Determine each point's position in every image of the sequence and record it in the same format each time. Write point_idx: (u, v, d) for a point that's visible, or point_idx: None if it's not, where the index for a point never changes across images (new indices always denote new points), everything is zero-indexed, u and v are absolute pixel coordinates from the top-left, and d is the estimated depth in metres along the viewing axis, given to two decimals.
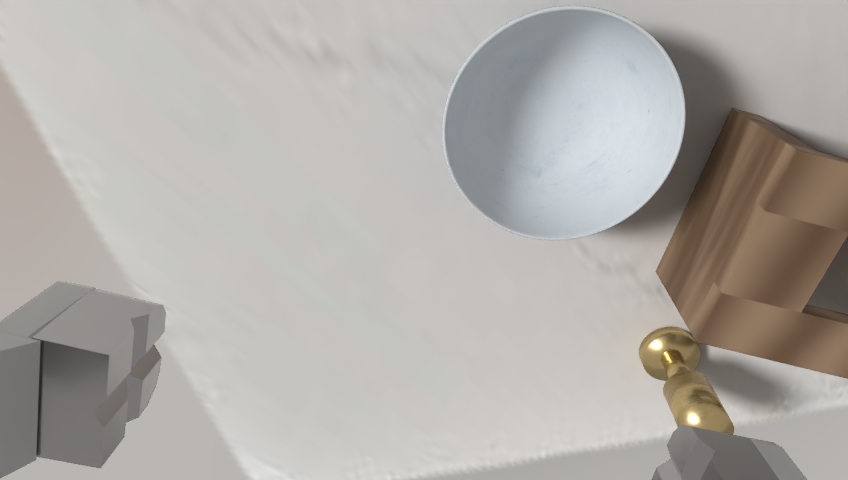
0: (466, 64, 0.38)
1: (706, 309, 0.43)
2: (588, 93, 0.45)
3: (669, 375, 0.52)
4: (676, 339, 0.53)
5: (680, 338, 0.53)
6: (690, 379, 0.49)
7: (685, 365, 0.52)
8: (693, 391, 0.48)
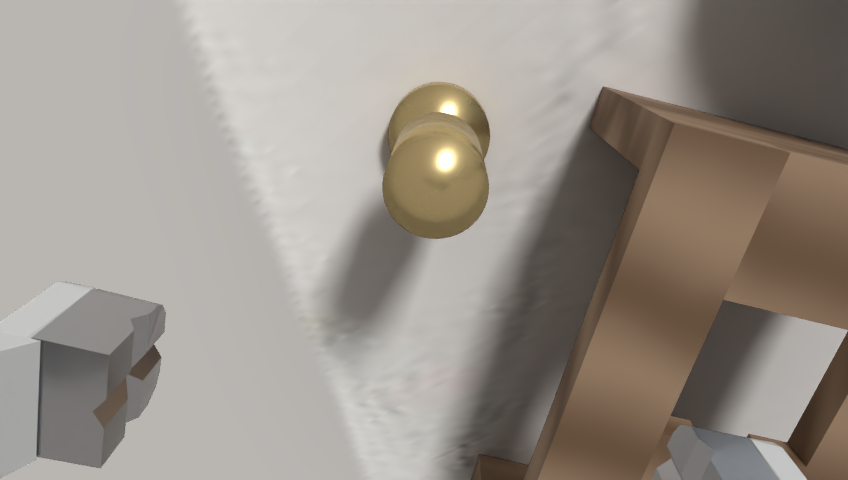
0: None
1: (729, 135, 0.21)
2: None
3: None
4: (480, 139, 0.30)
5: (481, 145, 0.30)
6: None
7: None
8: (482, 156, 0.23)
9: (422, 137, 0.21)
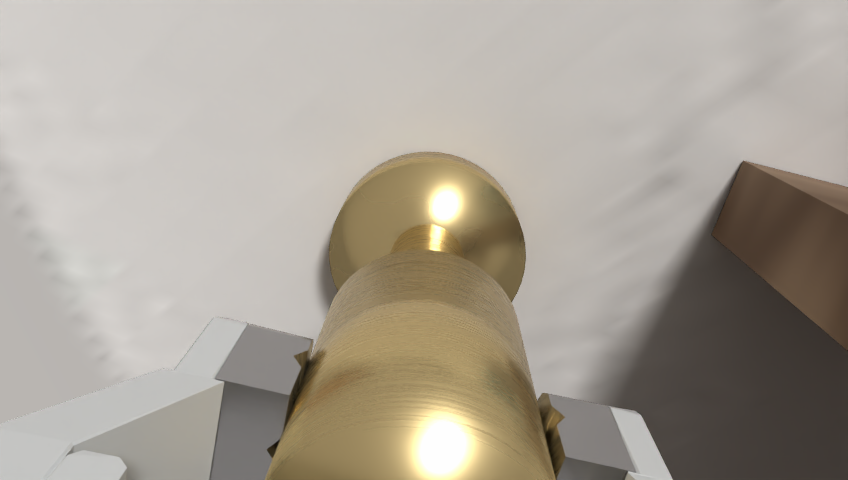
0: None
1: None
2: None
3: None
4: (507, 263, 0.15)
5: (508, 275, 0.16)
6: None
7: None
8: (534, 394, 0.09)
9: (363, 429, 0.06)
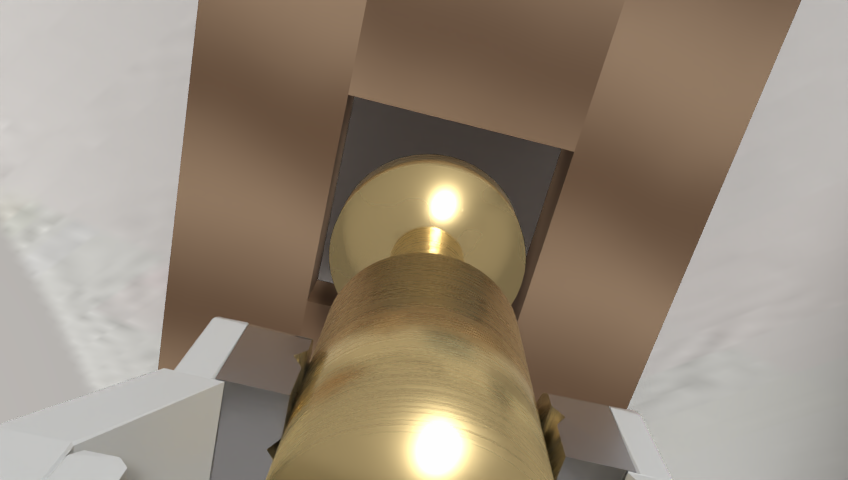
0: None
1: None
2: None
3: None
4: (507, 265, 0.15)
5: (509, 277, 0.16)
6: None
7: None
8: (533, 397, 0.09)
9: (362, 434, 0.06)
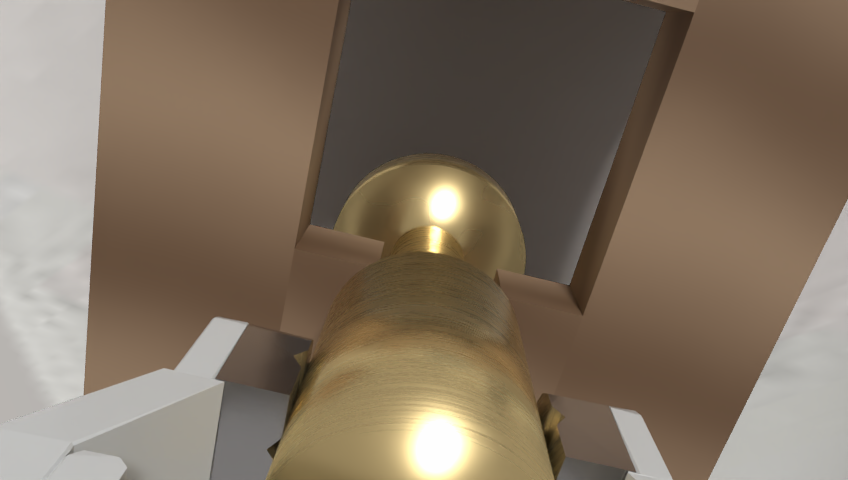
0: None
1: None
2: None
3: None
4: (507, 265, 0.15)
5: None
6: None
7: None
8: (533, 396, 0.09)
9: (362, 432, 0.06)
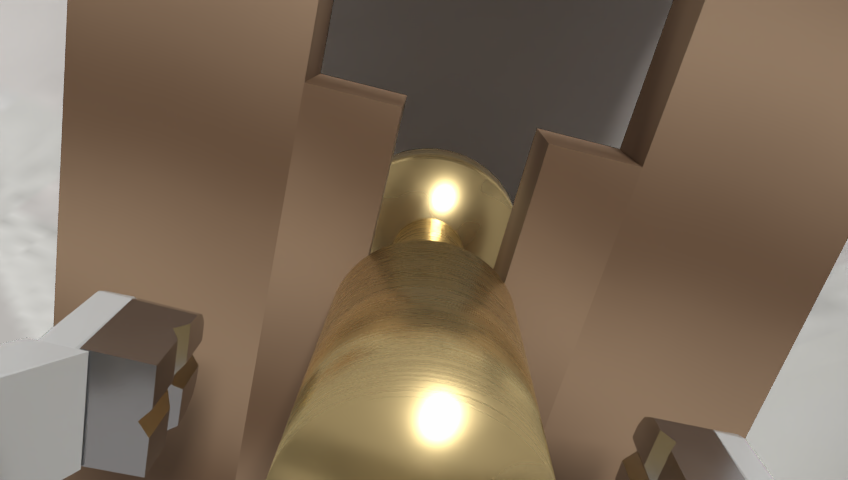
0: None
1: None
2: None
3: None
4: None
5: None
6: None
7: None
8: (529, 374, 0.10)
9: (369, 399, 0.07)
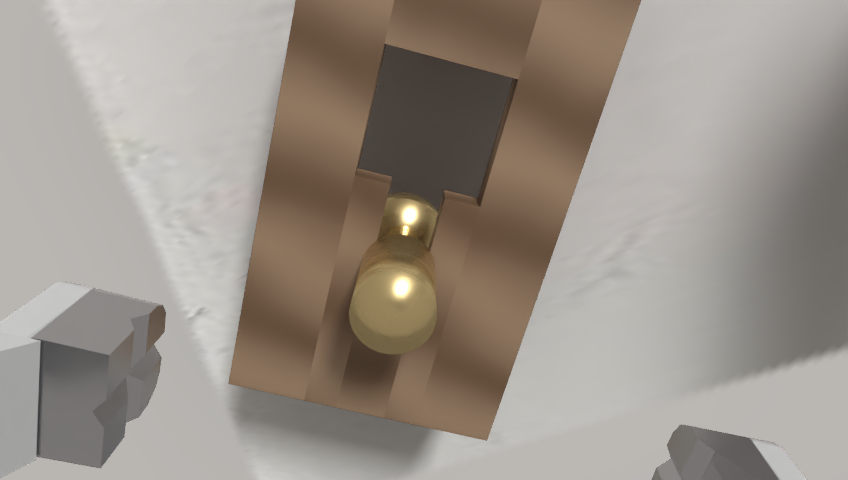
0: None
1: None
2: None
3: None
4: None
5: None
6: (434, 272, 0.29)
7: None
8: (434, 279, 0.28)
9: (381, 276, 0.25)
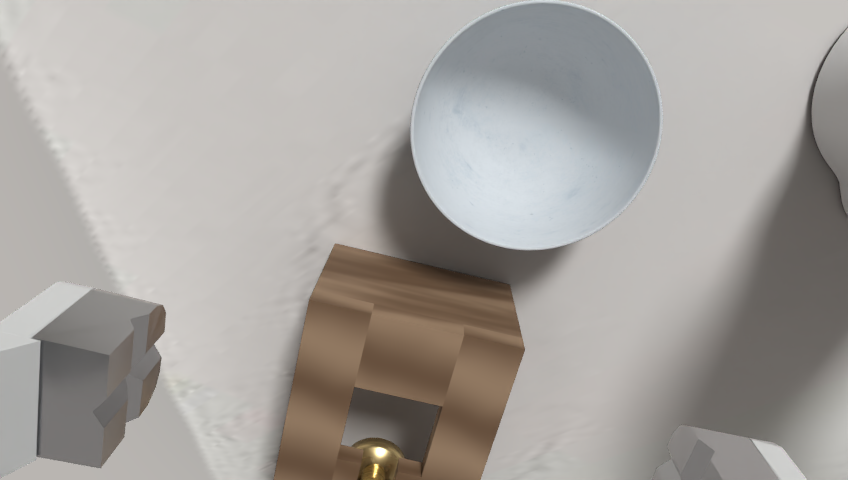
0: (615, 26, 0.36)
1: (345, 302, 0.40)
2: (536, 154, 0.44)
3: None
4: None
5: None
6: None
7: None
8: None
9: None
